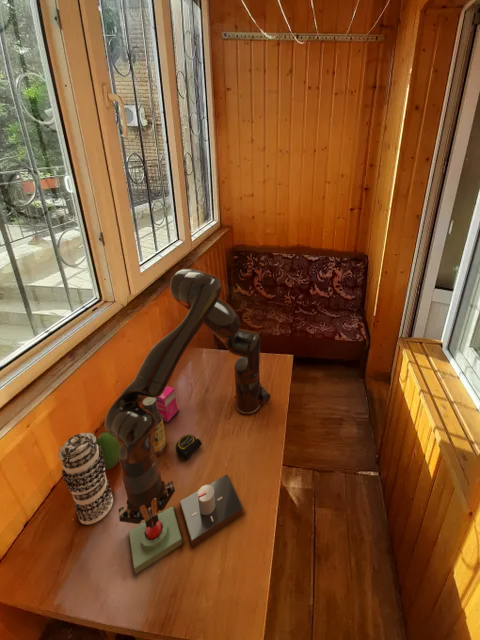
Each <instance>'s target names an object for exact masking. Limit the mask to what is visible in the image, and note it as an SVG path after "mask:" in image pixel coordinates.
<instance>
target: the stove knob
mask: <svg viewBox="0 0 480 640" xmlns="http://www.w3.org/2000/svg"><path fill="white" fill-rule="evenodd" d="M198 490H199V491H198ZM198 490H197V491H198V494H197V496H198V504H199V511H200V513H201V514H203V515H209V514H211V513H212V512H213V511H214V509H215V506H216V503H215V493H214V488H213V486H211V485H209V484H204V485H202V486H201V487H199V489H198Z"/></svg>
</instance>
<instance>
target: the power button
mask: <svg viewBox="0 0 480 640" xmlns="http://www.w3.org/2000/svg"><path fill="white" fill-rule="evenodd" d="M152 523H153V522H152ZM161 530H162V527H161V522H160V520H158V522H157V523H156V526H154V527H152V528H151V529H150V527H148V528H147V527H146V529H145V531H146V536H147V538H148V539H150V540H153V539H155V538H157V537H158V536H159V534H160V533H161Z"/></svg>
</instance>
